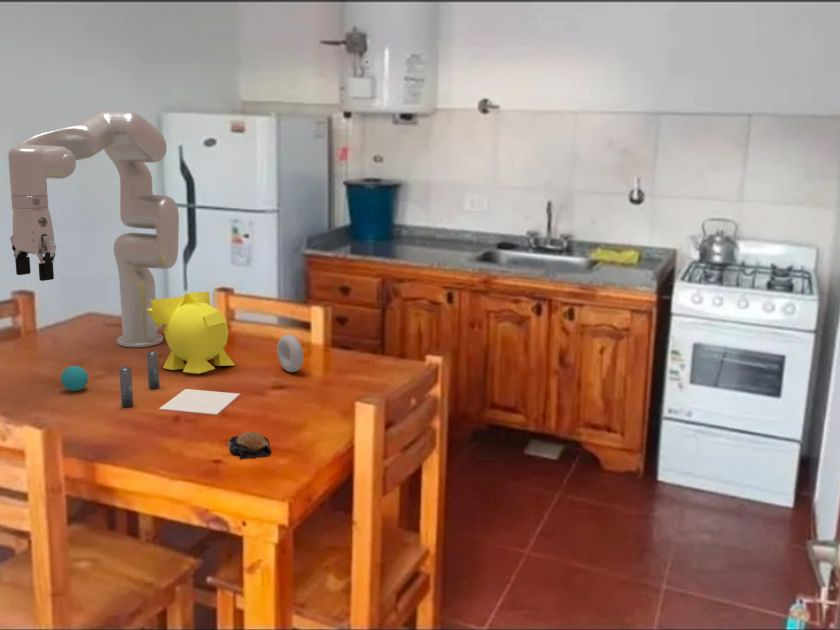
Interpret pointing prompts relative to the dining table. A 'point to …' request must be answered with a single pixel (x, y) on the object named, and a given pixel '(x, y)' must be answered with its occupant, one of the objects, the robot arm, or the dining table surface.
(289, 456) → the dining table surface
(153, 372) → the post
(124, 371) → the post
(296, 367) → the donut
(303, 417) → the dining table surface
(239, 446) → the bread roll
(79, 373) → the ball
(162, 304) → the piggy bank
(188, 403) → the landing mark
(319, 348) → the dining table surface
